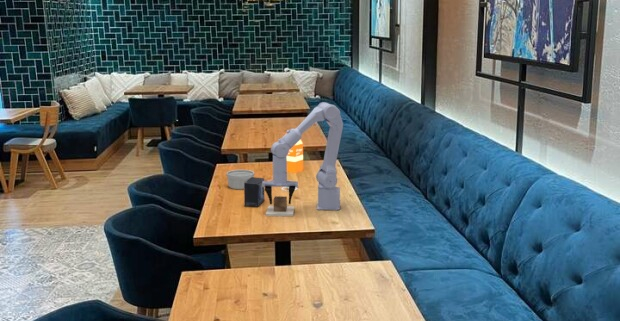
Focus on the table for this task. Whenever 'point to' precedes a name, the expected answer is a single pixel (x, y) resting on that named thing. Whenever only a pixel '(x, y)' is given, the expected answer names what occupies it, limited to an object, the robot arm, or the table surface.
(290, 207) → the ceramic tile
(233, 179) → the ramekin
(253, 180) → the small box
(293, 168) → the orange juice
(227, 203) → the table surface
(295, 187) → the teacup and saucer
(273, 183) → the robot arm
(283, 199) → the walnut block
